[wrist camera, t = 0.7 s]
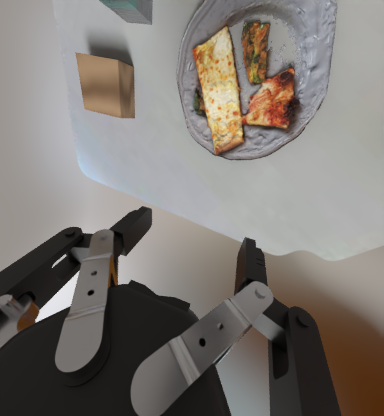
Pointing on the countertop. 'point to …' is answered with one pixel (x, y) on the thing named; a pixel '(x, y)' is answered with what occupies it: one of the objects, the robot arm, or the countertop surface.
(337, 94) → the countertop surface
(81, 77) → the tan block
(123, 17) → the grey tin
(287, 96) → the food plate
